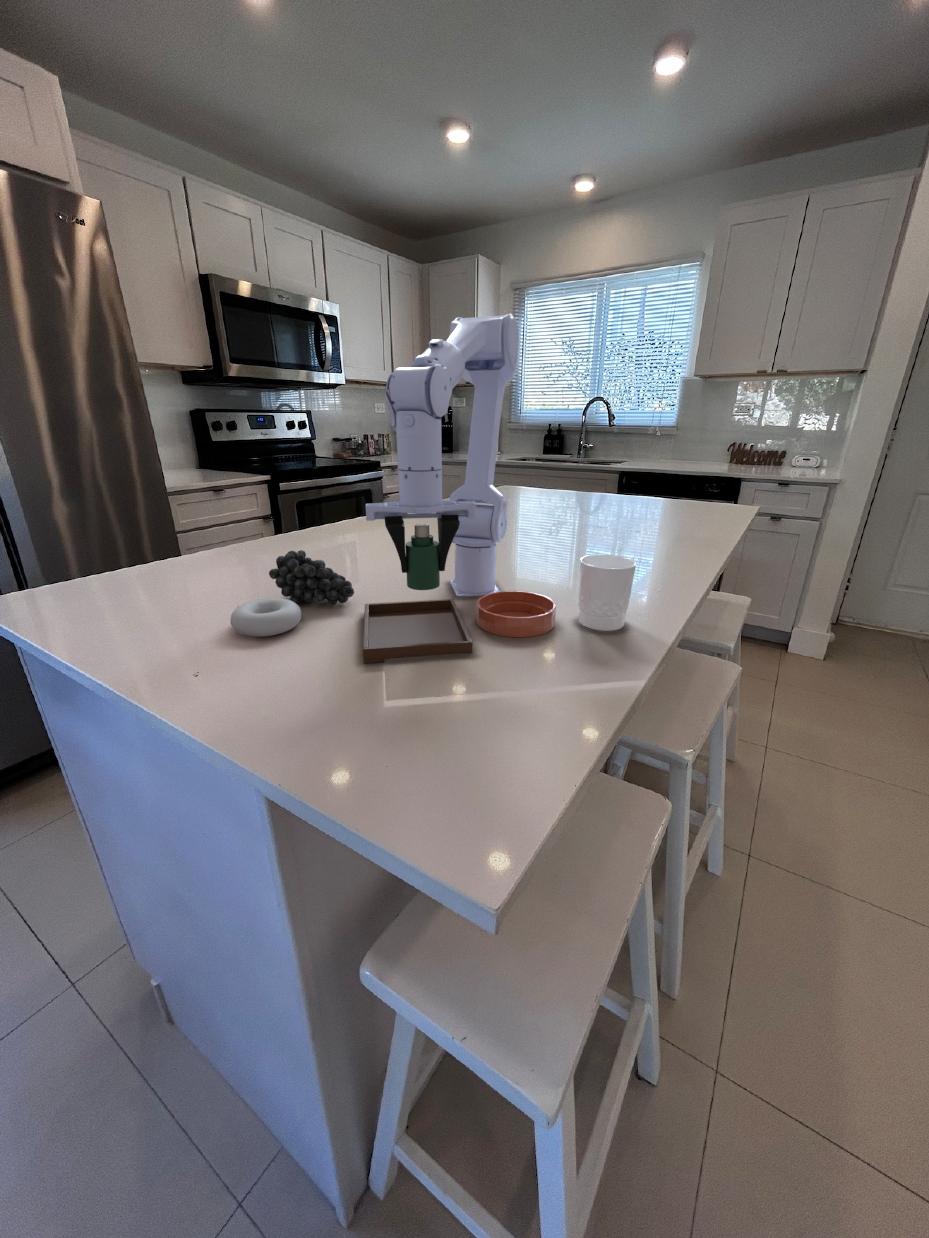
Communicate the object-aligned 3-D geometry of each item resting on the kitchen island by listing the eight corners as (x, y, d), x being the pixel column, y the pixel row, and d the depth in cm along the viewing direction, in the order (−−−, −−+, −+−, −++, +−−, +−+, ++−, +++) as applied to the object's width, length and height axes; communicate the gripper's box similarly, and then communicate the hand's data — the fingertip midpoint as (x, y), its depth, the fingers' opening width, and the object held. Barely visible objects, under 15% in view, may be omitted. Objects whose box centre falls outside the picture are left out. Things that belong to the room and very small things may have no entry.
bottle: (406, 581, 74) (403, 522, 70) (437, 579, 74) (436, 521, 71) (408, 591, 69) (405, 529, 66) (441, 589, 70) (440, 528, 67)
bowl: (470, 613, 82) (470, 592, 81) (540, 609, 84) (541, 589, 83) (485, 643, 71) (485, 620, 70) (565, 637, 73) (567, 615, 72)
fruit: (358, 551, 82) (286, 540, 88) (329, 580, 77) (253, 566, 82) (370, 593, 88) (301, 580, 93) (344, 623, 82) (272, 607, 88)
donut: (269, 646, 70) (316, 620, 79) (265, 623, 69) (314, 599, 77) (217, 634, 74) (268, 610, 83) (212, 612, 73) (264, 590, 81)
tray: (365, 615, 81) (364, 603, 80) (453, 610, 83) (453, 598, 83) (364, 663, 65) (362, 649, 65) (472, 655, 68) (472, 642, 67)
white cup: (629, 637, 74) (639, 570, 70) (574, 632, 75) (580, 567, 71) (625, 617, 81) (633, 556, 77) (574, 613, 82) (580, 553, 78)
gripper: (362, 473, 61) (370, 580, 66) (480, 471, 63) (479, 575, 69) (363, 467, 68) (370, 566, 73) (470, 466, 70) (469, 562, 75)
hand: (422, 570), depth 71 cm, fingers closed on bottle, 4 cm apart
